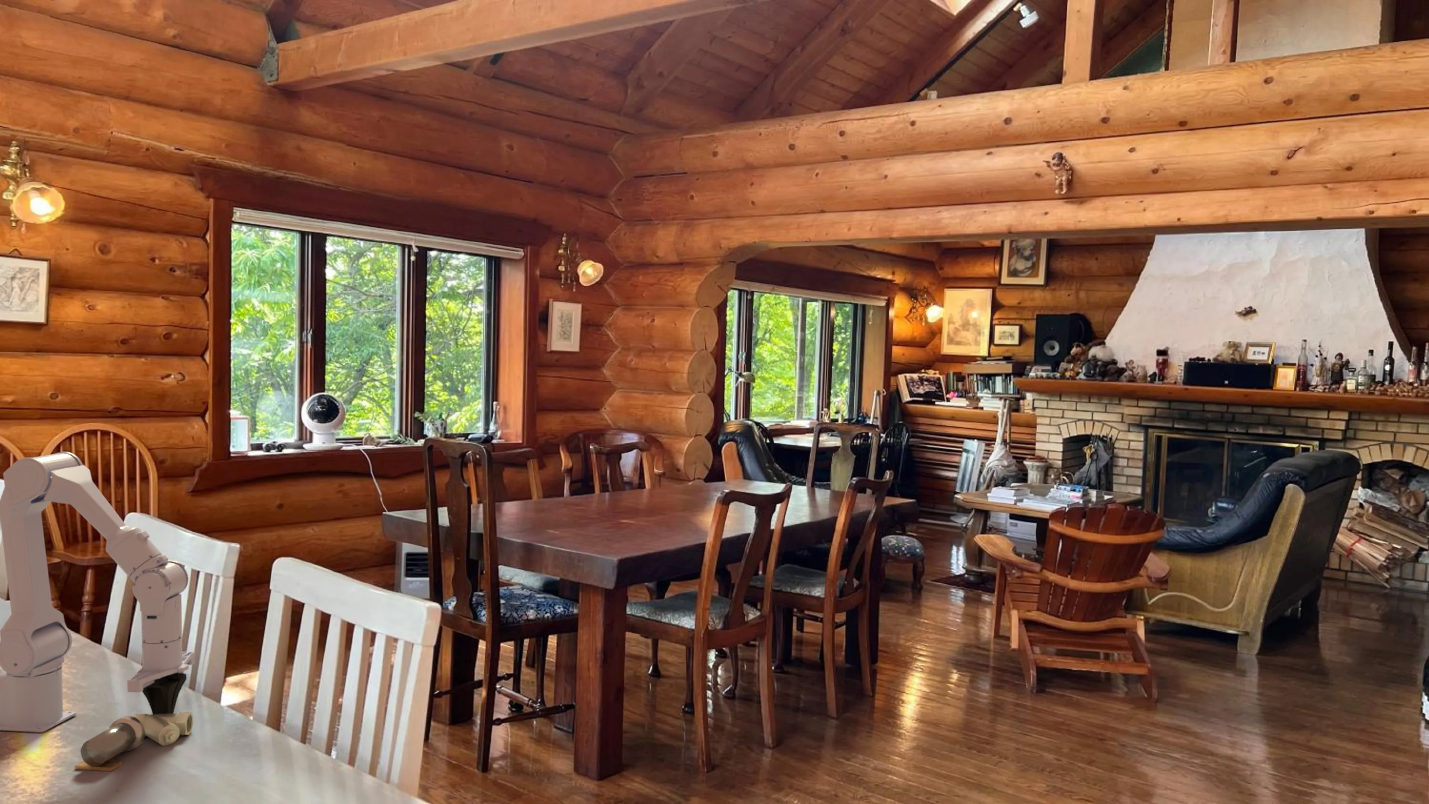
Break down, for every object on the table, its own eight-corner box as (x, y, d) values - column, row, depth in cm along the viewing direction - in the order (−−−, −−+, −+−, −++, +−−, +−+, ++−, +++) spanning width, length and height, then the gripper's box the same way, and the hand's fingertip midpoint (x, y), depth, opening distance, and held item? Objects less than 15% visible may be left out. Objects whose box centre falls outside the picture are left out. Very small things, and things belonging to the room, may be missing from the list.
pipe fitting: (178, 750, 158) (193, 730, 165) (177, 726, 158) (192, 707, 164) (123, 752, 157) (140, 732, 164) (121, 728, 157) (139, 709, 163)
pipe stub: (111, 771, 149) (110, 737, 149) (74, 769, 149) (74, 735, 149) (147, 748, 157) (146, 716, 157) (112, 746, 158) (111, 715, 157)
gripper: (157, 653, 157) (158, 739, 158) (211, 626, 172) (212, 706, 173) (113, 651, 158) (115, 737, 159) (171, 625, 172) (173, 704, 173)
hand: (163, 720), depth 166 cm, fingers closed
